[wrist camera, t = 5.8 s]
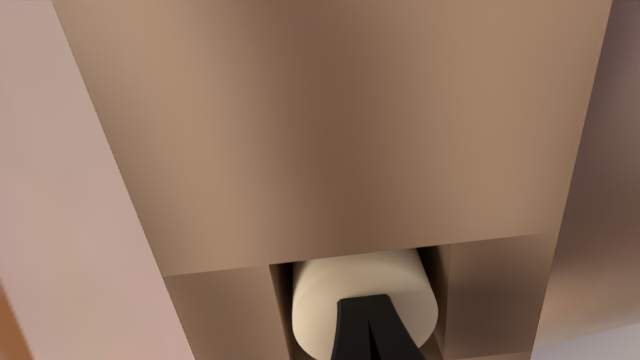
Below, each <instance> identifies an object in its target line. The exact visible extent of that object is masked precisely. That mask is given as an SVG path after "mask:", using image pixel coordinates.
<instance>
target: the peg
mask: <svg viewBox="0 0 640 360" xmlns="http://www.w3.org/2000/svg"><path fill="white" fill-rule="evenodd" d="M379 294H387V295H388V296H390V298H391V301H392V303H393V305H394V307H395V309H396V311H397V313H398V315H399V317H400V319H401V321H402V322H403V324H404V326H405V327H406V329H407V331H408V333H409V334H410V336H411V338H412V339H413V341H414V342H415V344H416V345H417V347H418V348H419V347H421V346H422V345H423V344H424V343H425V342H426V341H427V339H428V338H429V337H430V335H431V334H432V332H433V330H434V328H435V326H436V323H437V318H438V306H437V302H436V299H435V296H434V294H433V291H432V289H431V286H430V283H429V281H428V278H427V275H426V273H425V270H424V267H423V265H422V262H421V260H420V257H419V254H418V252H417V249H416V248H408V249H400V250H391V251H382V252H373V253H365V254H356V255H347V256H339V257H330V258H321V259H313V260H304V261H295V262H293V312H292V325H293V332H294V335H295V338H296V340H297V342H298V343H299V345H300V346H301V347H302V348H303V349H304V350H305V351H306V352H307V353H308V354H309V355H311V356H312V357H313V358H315V359H317V360H331V355H332V350H333V345H334V338H335V331H336V322H337V302H338V301H339V300H340V299H344V298H353V297H361V296H370V295H379Z"/></svg>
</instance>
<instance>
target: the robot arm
mask: <svg viewBox="0 0 640 360" xmlns="http://www.w3.org/2000/svg"><path fill="white" fill-rule="evenodd" d="M331 360H426V359H425V357H424V356H423V354H422V353H421V351H420V350H419V348H418V347H417V345H416V344H415V342H414V341H413V339H412V338H411V336H410V334H409V333H408V331H407V329H406V327H405V326H404V324H403V322H402V321H401V319H400V317H399V315H398V313H397V311H396V309H395V307H394V305H393V303H392V301H391V298H390V296H388V295H387V294H379V295H370V296H361V297H353V298H344V299H340V300H339V301H338V302H337V322H336V331H335V338H334V345H333V350H332V355H331Z"/></svg>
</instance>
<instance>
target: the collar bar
mask: <svg viewBox="0 0 640 360" xmlns="http://www.w3.org/2000/svg"><path fill="white" fill-rule="evenodd" d="M51 1H52V3H53V6H54V8H55V11H56V13H57V16H58V18H59V21H60V23H61V26H62V28H63V31H64V33H65V36H66V38H67V41H68V43H69V46H70V48H71V51H72V53H73V56H74V58H75V61H76V63H77V66H78V68H79V71H80V73H81V76H82V78H83V81H84V83H85V86H86V88H87V91H88V93H89V96H90V98H91V101H92V103H93V106H94V108H95V111H96V113H97V116H98V118H99V121H100V123H101V125H102V128H103V130H104V133H105V135H106V138H107V140H108V143H109V145H110V148H111V150H112V153H113V155H114V158H115V160H116V163H117V165H118V168H119V170H120V173H121V175H122V178H123V180H124V183H125V185H126V188H127V190H128V193H129V195H130V198H131V200H132V203H133V205H134V208H135V210H136V213H137V215H138V218H139V220H140V223H141V225H142V228H143V230H144V233H145V235H146V238H147V240H148V243H149V245H150V248H151V250H152V253H153V255H154V258H155V260H156V263H157V265H158V268H159V270H160V273H161V275H162V278H163V280H164V283H165V285H166V288H167V290H168V293H169V295H170V298H171V300H172V303H173V305H174V308H175V310H176V313H177V315H178V318H179V320H180V323H181V325H182V328H183V330H184V333H185V335H186V338H187V340H188V343H189V345H190V348H191V350H192V353H193V355H194V358H195V360H317V359H315V358H313V357H312V356H311V355H309V354H308V353H307V352H306V351H305V350H304V349H303V348H302V347H301V346H300V345H299V343H298V342H297V340H296V338H295V335H294V332H293V325H292V312H293V262H295V261H304V260H313V259H321V258H330V257H339V256H347V255H356V254H365V253H373V252H382V251H391V250H400V249H408V248H416V249H417V252H418V254H419V257H420V260H421V262H422V265H423V267H424V270H425V273H426V275H427V278H428V281H429V283H430V286H431V289H432V291H433V294H434V296H435V299H436V302H437V306H438V318H437V323H436V326H435V328H434V330H433V332H432V334H431V335H430V337H429V338H428V339H427V341H426V342H425V343H424V344H423V345H422V346H421V347H419V350H420V351H421V353H422V354H423V356H424V357H425V359H426V360H530V358H531V353H532V349H533V345H534V340H535V336H536V332H537V327H538V323H539V319H540V314H541V310H542V305H543V301H544V297H545V292H546V288H547V284H548V279H549V275H550V271H551V266H552V262H553V258H554V253H555V249H556V245H557V240H558V236H559V231H560V227H561V223H562V218H563V214H564V210H565V205H566V201H567V197H568V192H569V188H570V184H571V179H572V175H573V171H574V166H575V162H576V158H577V153H578V149H579V144H580V140H581V136H582V131H583V127H584V123H585V118H586V114H587V110H588V105H589V101H590V97H591V92H592V88H593V84H594V79H595V75H596V70H597V66H598V62H599V57H600V53H601V49H602V44H603V40H604V36H605V31H606V27H607V23H608V18H609V14H610V10H611V5H612V1H613V0H51Z"/></svg>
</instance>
